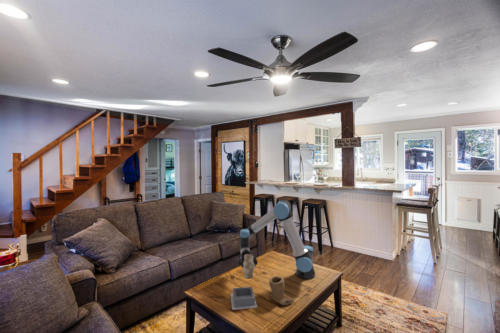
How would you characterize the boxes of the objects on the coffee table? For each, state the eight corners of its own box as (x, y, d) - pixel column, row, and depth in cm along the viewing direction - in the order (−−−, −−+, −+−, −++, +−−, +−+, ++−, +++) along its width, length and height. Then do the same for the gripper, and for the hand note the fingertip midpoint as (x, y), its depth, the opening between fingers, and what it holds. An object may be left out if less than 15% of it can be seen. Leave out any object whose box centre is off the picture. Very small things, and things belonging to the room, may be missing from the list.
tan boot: (265, 298, 162) (265, 276, 161) (278, 292, 169) (278, 271, 168) (281, 310, 150) (281, 286, 149) (294, 303, 157) (294, 280, 156)
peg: (252, 274, 171) (252, 253, 170) (253, 278, 165) (253, 257, 164) (243, 274, 170) (243, 254, 169) (244, 279, 164) (244, 257, 163)
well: (253, 293, 168) (253, 285, 168) (257, 307, 152) (257, 299, 152) (230, 295, 166) (230, 287, 165) (232, 309, 150) (232, 301, 150)
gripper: (258, 258, 186) (263, 272, 163) (233, 259, 184) (235, 274, 161) (258, 248, 186) (263, 262, 163) (233, 249, 184) (235, 263, 161)
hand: (249, 268), depth 162 cm, fingers closed on peg, 6 cm apart
